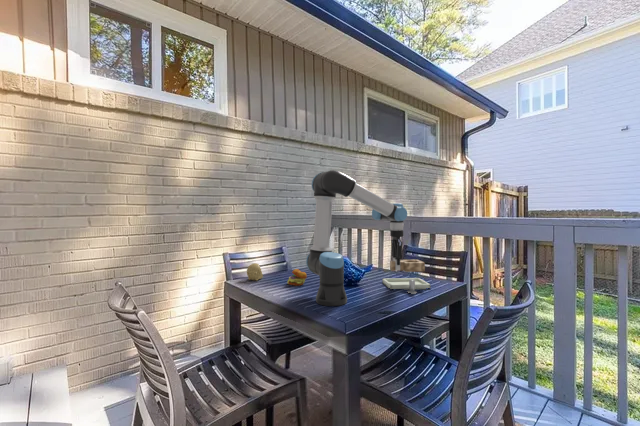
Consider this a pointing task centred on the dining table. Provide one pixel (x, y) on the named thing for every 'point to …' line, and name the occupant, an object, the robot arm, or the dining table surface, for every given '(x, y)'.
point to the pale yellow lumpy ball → (254, 272)
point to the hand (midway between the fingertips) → (396, 269)
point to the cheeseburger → (297, 278)
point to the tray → (405, 283)
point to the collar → (409, 265)
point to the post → (412, 287)
